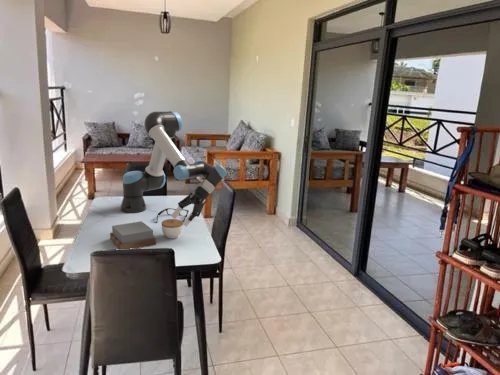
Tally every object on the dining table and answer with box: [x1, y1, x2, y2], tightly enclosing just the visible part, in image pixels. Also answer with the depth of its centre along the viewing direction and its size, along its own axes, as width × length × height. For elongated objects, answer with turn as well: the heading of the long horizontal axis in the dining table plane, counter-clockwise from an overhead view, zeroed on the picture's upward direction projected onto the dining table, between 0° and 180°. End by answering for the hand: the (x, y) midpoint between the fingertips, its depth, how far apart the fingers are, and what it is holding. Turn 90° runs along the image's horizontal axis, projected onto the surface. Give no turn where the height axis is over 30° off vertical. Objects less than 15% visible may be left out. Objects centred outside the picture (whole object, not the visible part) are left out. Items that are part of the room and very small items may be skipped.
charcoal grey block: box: [111, 220, 154, 244], centre depth 191 cm, size 15×15×4 cm
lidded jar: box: [161, 218, 184, 239], centre depth 201 cm, size 11×11×9 cm
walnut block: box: [109, 232, 157, 250], centre depth 192 cm, size 17×17×4 cm
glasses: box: [156, 207, 189, 224], centre depth 228 cm, size 16×18×5 cm
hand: (178, 221), depth 201 cm, fingers open, 13 cm apart
